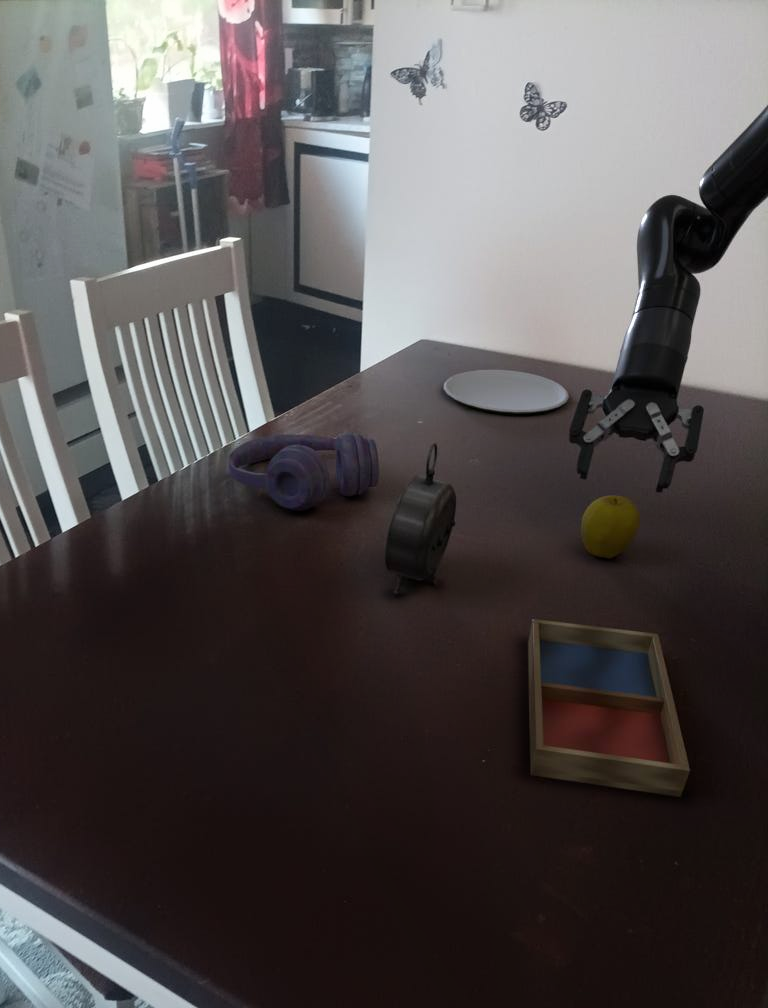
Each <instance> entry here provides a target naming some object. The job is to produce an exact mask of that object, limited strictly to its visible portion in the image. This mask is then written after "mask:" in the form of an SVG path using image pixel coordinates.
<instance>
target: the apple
mask: <svg viewBox="0 0 768 1008" xmlns="http://www.w3.org/2000/svg"><path fill="white" fill-rule="evenodd" d="M639 512H640V511H638V508H637V506H636V504H634V502H633V501H632V500H630V499H629V498H628V497H627V498H626V497H625V496H621V495H620V496H619V495H613V494H612V495H605V496H602V497H599V498H597V499H595V500H594V501H592V502H591V503H590V504H589V506H587V508H586V509H585V511H584V513H583V515H582V519H581V527H580V533H581V538H582V542H583V546H584V548H585V550H586V551H587V552H588V553H589V554H590V555H591V556H594V557H599V558H605V559H613V558H614V557H616V556H618V555H620V553H622V552H624V550H627V548H628V547H629V546H630V545H631V544H632V542H633V541H634V539H635V538H636V537H637V534H638V531H639V528H640V523H641V520H640V519H641V517H640V513H639Z"/></svg>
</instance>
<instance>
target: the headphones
mask: <svg viewBox="0 0 768 1008" xmlns="http://www.w3.org/2000/svg"><path fill="white" fill-rule="evenodd" d="M318 451H320V452H321V451H334V455H335V456H334V457H335V458H334V459H335V471H336V478H337V483H338V487H339V491H340V494H342V496H345V497H353V496H355V495H363V494H364V493H365V492H366V491H367V490H368V489H369V488H376V486H378V483H379V478H380V463H379V453H378V448H377V444H376V441H375V440H374V439H373V438H372V437H369V438H367V437H366V438H365V437H364V436H362V435H361V434H360V433H358V432H352V433H350V432H342V433H339V434H338V435H337V436H336V438H333V437H328V436H321V435H313V434H311V435H310V434H274V435H273V434H272V435H265V436H262V437H256V438H253V439H250V440H248V441H246V442H244V443H242V444H240V445H239V446H237V447H236V448H234V449H233V451H232V452H230V454H229V456H228V459H227V460H228V461H227V462H228V463H227V464H228V472H229V476H230V477H231V478H232V479H234V480H235V481H236V482H237V483H241V484H242V485H246V486H250V487H254V488H259V489H261V490H263V491H265V492H266V493H267V494H269V496H270V498H271V499H272V500H273V501H274V502H275V503H276V504H277V505H278V506H280V507H282V508H284V509H287V510H291V511H294V512H301V511H306V510H309V509H310V508H313V507H316V506H317V505H319V504H320V503H321V502H322V501H323V500H324V499H325V497H326V495H327V493H328V492H329V488H330V479H331V478H330V472H329V468H328V466H327V464H326V462H325V460H324V459H323V457H322V456H321V454H320V453H318ZM267 460H269V462H268V464H267V469H266V472H265V473H258V472H255V471H248V470H246V469H242V468H240V467H244V466H247V465H251V464H256V463H260V462H262V461H267Z"/></svg>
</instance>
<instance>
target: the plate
mask: <svg viewBox="0 0 768 1008" xmlns="http://www.w3.org/2000/svg"><path fill="white" fill-rule="evenodd" d="M443 391H444V393H445V394H446V395H447V396H448V398H451V399H452V400H454V401H455V402H457V403H459V404H462V405H465V406H466V407H470V408H474V409H476V410H481V411H486V412H491V413H492V412H493V413H498V414H514V415H523V414H524V415H525V414H526V415H527V414H529V415H530V414H532V415H533V414H539V413H546V412H549V411H553V410H557V409H558V408H561V407H562V406H564V405H565V404H566V403H567V402H568V400H569V399H570V396H569V392H568V390H566V388H565V387H564V386H562V385H561V384H559V383H558V382H556V381H553V380H552V379H549V378H546V377H543V376H541V375H537V374H534V373H528V372H523V371H518V370H517V371H516V370H506V369H478V370H470V371H469V370H468V371H465V372H461V373H457V374H454V375H452V376H450V377H449V378H447V380H446V381H444V382H443Z"/></svg>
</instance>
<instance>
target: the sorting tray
mask: <svg viewBox="0 0 768 1008" xmlns="http://www.w3.org/2000/svg"><path fill="white" fill-rule="evenodd" d="M527 659H528V660H527V667H528V669H527V671H528V714H529V715H528V717H529V718H528V719H529V720H528V721H529V760H530V761H529V762H530V763H529V764H530V765H529V766H530V767H529V768H530V775H531V776H534V777H535V776H536V777H542V778H549V779H556V780H563V781H569V782H576V783H583V784H588V785H589V784H590V785H596V786H603V787H610V788H615V789H616V788H617V789H623V790H632V791H636V792H643V793H644V792H645V793H651V794H659V795H665V796H671V797H678V798H681V797H682V794H683V791H684V789H685V787H686V783H687V781H688V778H689V775H690V772H691V769H690V764H689V760H688V756H687V755H688V754H687V751H686V747H685V743H684V739H683V735H682V730H681V726H680V721H679V718H678V713H677V709H676V706H675V705H676V704H675V701H674V697H673V692H672V688H671V683H670V679H669V675H668V670H667V667H666V663H665V658H664V653H663V649H662V645H661V641H660V637H659V633H654V632H645V631H644V632H643V631H635V630H627V629H619V628H611V627H602V626H595V625H584V624H577V623H568V622H562V621H561V622H560V621H552V620H546V619H545V620H544V619H536V618H532V620H531V625H530V630H529V636H528V640H527Z"/></svg>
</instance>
